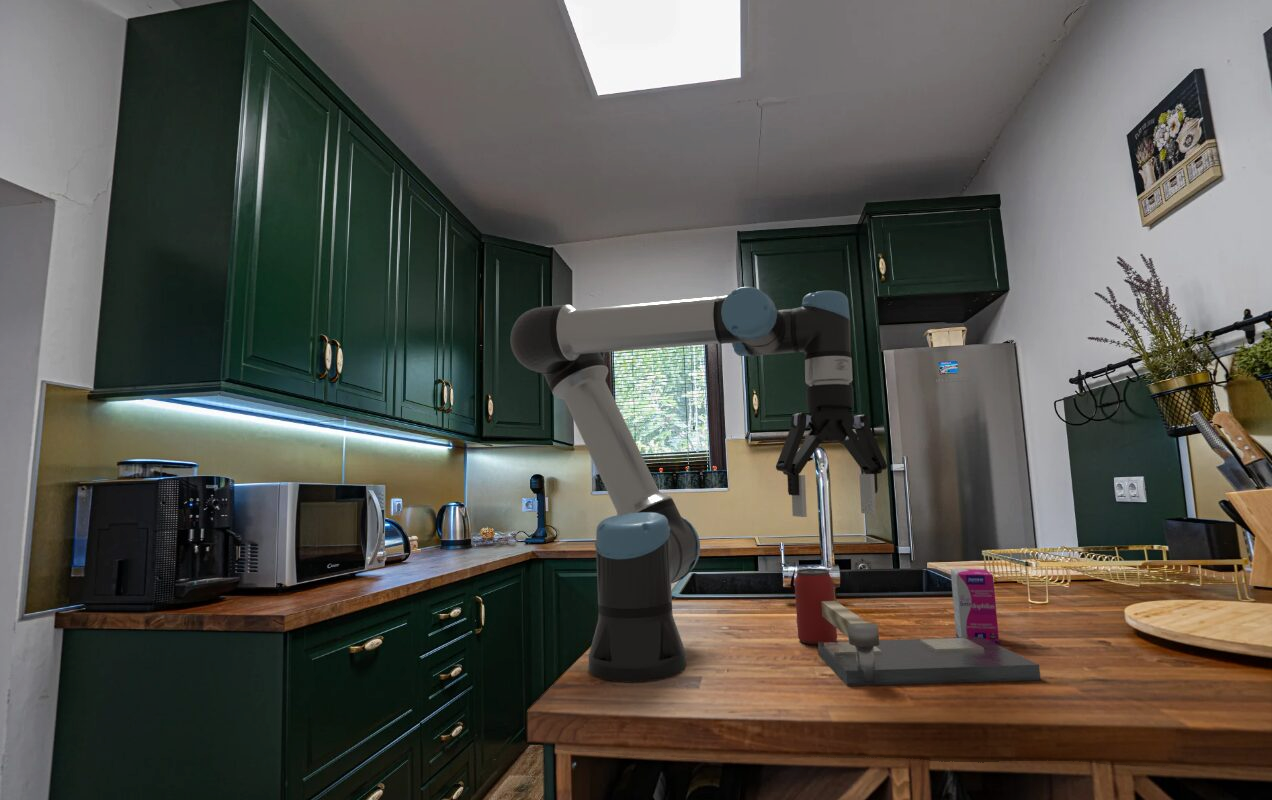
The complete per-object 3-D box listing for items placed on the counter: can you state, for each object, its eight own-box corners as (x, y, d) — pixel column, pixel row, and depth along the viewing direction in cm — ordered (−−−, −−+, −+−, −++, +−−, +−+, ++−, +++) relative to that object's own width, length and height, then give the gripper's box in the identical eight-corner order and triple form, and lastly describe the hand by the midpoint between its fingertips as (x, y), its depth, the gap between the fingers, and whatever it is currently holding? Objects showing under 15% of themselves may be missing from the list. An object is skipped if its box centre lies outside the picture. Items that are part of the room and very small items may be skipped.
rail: (883, 646, 90) (882, 628, 90) (853, 647, 90) (852, 629, 90) (841, 615, 110) (840, 600, 110) (817, 616, 110) (816, 601, 111)
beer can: (790, 640, 117) (786, 570, 118) (820, 635, 119) (815, 567, 121) (815, 648, 111) (810, 574, 112) (845, 642, 114) (840, 570, 115)
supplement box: (961, 644, 109) (955, 573, 111) (955, 635, 115) (949, 568, 116) (1000, 645, 108) (993, 573, 109) (992, 636, 113) (985, 568, 115)
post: (861, 686, 90) (858, 648, 91) (855, 680, 92) (853, 643, 93) (878, 685, 90) (875, 647, 91) (873, 680, 92) (870, 643, 93)
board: (847, 686, 90) (846, 667, 91) (818, 655, 106) (817, 639, 106) (1040, 680, 90) (1038, 661, 90) (982, 649, 106) (981, 634, 106)
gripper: (777, 379, 102) (782, 519, 99) (905, 385, 111) (912, 513, 108) (751, 385, 109) (756, 516, 106) (873, 390, 118) (880, 511, 115)
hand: (834, 515), depth 107 cm, fingers open, 13 cm apart
